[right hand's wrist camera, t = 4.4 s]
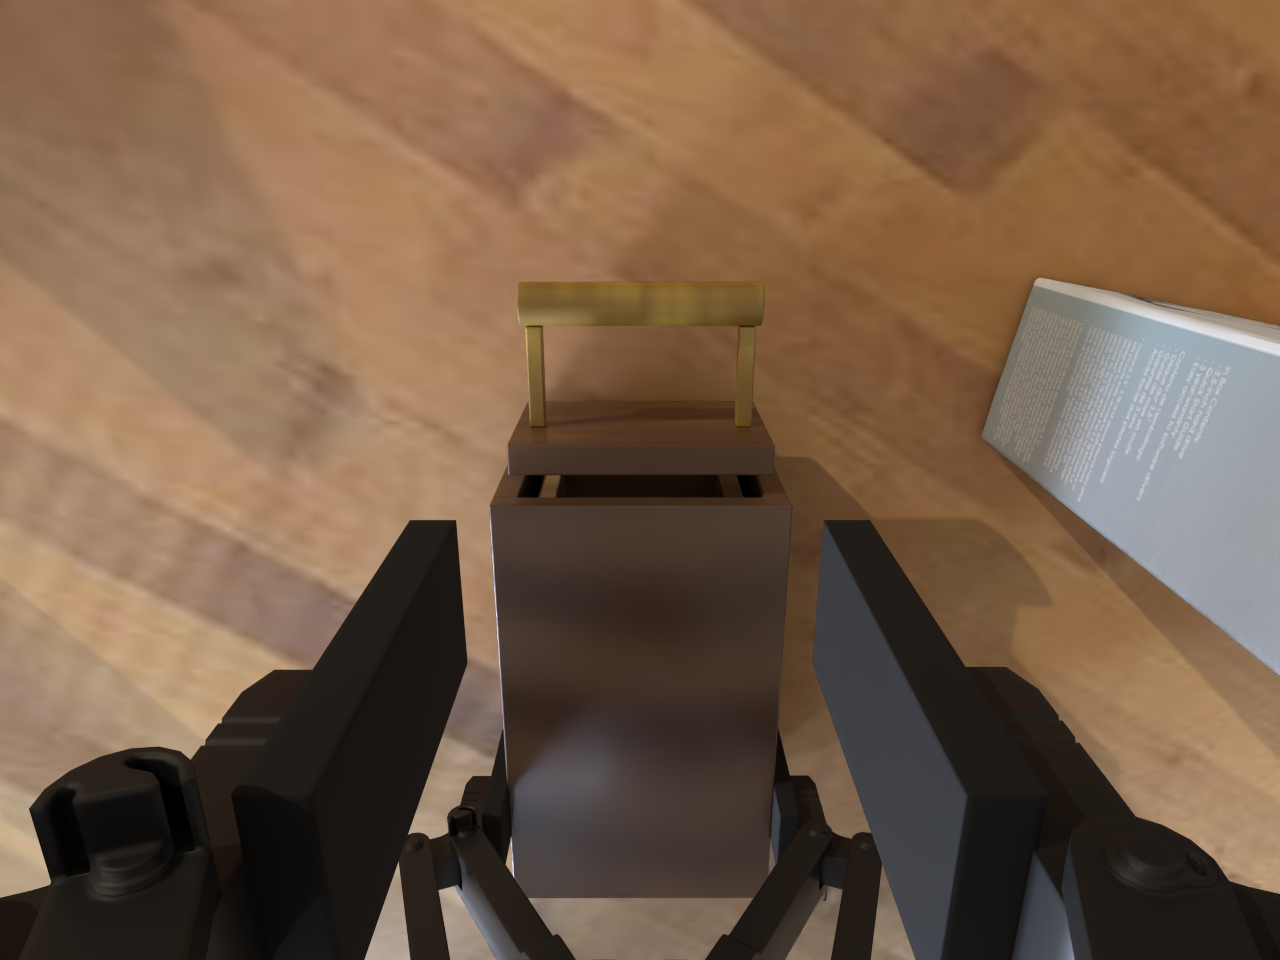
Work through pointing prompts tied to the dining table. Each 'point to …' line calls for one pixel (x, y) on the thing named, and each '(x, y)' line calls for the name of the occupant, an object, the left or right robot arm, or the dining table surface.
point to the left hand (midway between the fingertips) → (640, 739)
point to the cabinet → (640, 687)
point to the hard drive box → (1156, 441)
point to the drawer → (640, 431)
